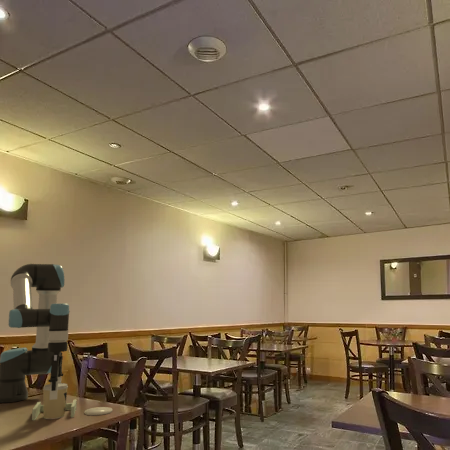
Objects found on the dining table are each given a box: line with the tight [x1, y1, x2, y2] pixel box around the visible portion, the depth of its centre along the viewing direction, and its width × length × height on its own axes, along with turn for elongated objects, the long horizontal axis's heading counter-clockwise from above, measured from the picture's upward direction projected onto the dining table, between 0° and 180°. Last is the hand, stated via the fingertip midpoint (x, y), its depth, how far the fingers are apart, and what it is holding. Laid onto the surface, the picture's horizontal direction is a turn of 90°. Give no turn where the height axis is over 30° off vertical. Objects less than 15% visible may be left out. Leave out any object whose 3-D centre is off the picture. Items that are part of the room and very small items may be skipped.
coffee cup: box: [42, 382, 69, 420], centre depth 174 cm, size 9×9×12 cm
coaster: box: [84, 406, 113, 416], centre depth 180 cm, size 11×11×1 cm
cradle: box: [31, 399, 78, 421], centre depth 177 cm, size 15×15×4 cm
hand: (55, 396), depth 174 cm, fingers open, 13 cm apart
